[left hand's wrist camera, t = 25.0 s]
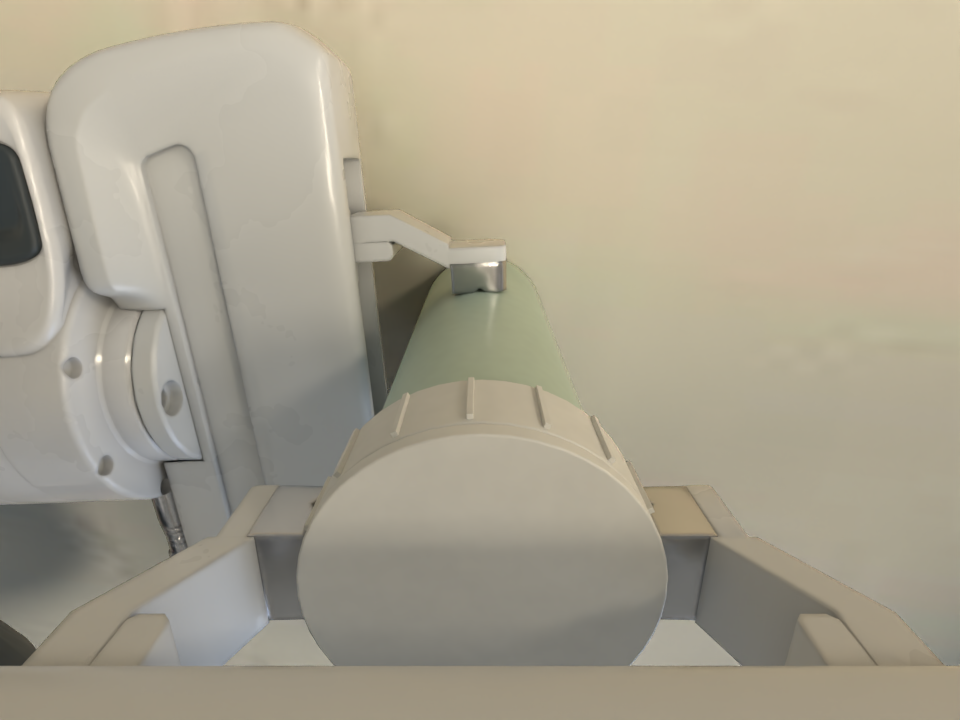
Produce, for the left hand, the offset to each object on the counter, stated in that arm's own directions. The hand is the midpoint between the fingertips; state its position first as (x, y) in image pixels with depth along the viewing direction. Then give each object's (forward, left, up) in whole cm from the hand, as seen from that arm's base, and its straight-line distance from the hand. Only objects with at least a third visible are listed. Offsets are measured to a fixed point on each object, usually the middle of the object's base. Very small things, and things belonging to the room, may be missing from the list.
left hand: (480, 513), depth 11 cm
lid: (0, 0, +2) cm, 2 cm away
